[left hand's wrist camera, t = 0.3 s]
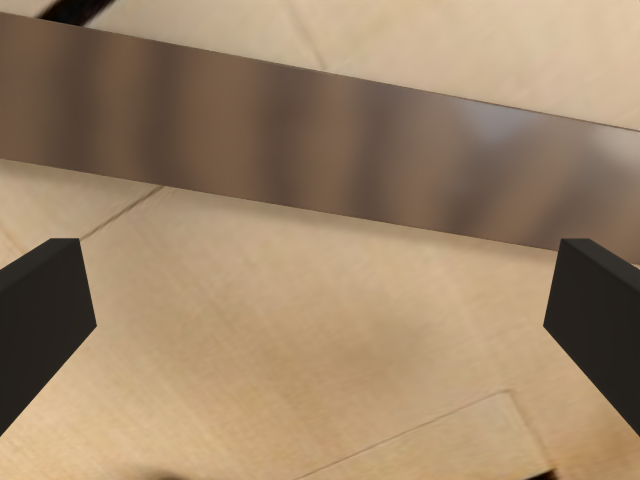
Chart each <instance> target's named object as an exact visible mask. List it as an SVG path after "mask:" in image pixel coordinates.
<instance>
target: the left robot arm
mask: <svg viewBox="0 0 640 480" xmlns="http://www.w3.org/2000/svg"><path fill="white" fill-rule="evenodd" d="M96 327H97V324H96V319H95V314H94V309H93V305H92V300H91V295H90V290H89V285H88V280H87V275H86V270H85V265H84V261H83V256H82V251H81V246H80V241H79V238H51V239H49V240H47V241H46V242H44V243H43V244H41V245H39V246H38V247H36V248H35V249H33V250H31V251H30V252H28V253H27V254H25V255H23V256H22V257H20V258H18V259H17V260H15V261H14V262H12V263H10V264H9V265H7V266H6V267H4V268H2V269H1V270H0V437H1V435H2V434H3V433H4V432H5V431H6V430H7V428H8V427H9V426H10V425H11V424H12V423H13V422H14V420H15V419H16V418H17V417H18V416H19V415H20V414H21V412H22V411H23V410H24V409H25V408H26V407H27V406H28V404H29V403H30V402H31V401H32V400H33V399H34V398H35V396H36V395H37V394H38V393H39V392H40V391H41V390H42V388H43V387H44V386H45V385H46V384H47V383H48V382H49V380H50V379H51V378H52V377H53V376H54V375H55V374H56V372H57V371H58V370H59V369H60V368H61V367H62V366H63V364H64V363H65V362H66V361H67V360H68V359H69V357H70V356H71V355H72V354H73V353H74V352H75V351H76V349H77V348H78V347H79V346H80V345H81V344H82V343H83V341H84V340H85V339H86V338H87V337H88V336H89V335H90V333H91V332H92V331H93V330H94V329H95V328H96ZM543 327H544V328H545V329H546V330H547V331H548V332H549V333H550V335H551V336H552V337H553V338H554V339H555V340H556V341H557V343H558V344H559V345H560V346H561V347H562V348H563V349H564V351H565V352H566V353H567V354H568V355H569V356H570V357H571V359H572V360H573V361H574V362H575V363H576V364H577V366H578V367H579V368H580V369H581V370H582V371H583V372H584V374H585V375H586V376H587V377H588V378H589V379H590V380H591V382H592V383H593V384H594V385H595V386H596V387H597V388H598V390H599V391H600V392H601V393H602V394H603V395H604V396H605V398H606V399H607V400H608V401H609V402H610V403H611V404H612V406H613V407H614V408H615V409H616V410H617V411H618V412H619V414H620V415H621V416H622V417H623V418H624V419H625V420H626V422H627V423H628V424H629V425H630V426H631V427H632V428H633V430H634V431H635V432H636V433H637V434H638V435H639V437H640V270H639V269H638V268H636V267H634V266H633V265H631V264H630V263H628V262H626V261H625V260H623V259H622V258H620V257H618V256H617V255H615V254H613V253H612V252H610V251H609V250H607V249H605V248H604V247H602V246H601V245H599V244H597V243H596V242H594V241H593V240H591V239H589V238H561V241H560V246H559V251H558V256H557V261H556V265H555V270H554V275H553V280H552V285H551V290H550V295H549V300H548V305H547V309H546V314H545V319H544V324H543Z"/></svg>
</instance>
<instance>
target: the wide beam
mask: <svg viewBox="0 0 640 480" xmlns="http://www.w3.org/2000/svg"><path fill="white" fill-rule="evenodd" d="M0 158H2V159H8V160H14V161H20V162H26V163H32V164H38V165H44V166H50V167H56V168H62V169H68V170H74V171H80V172H86V173H92V174H98V175H104V176H110V177H116V178H122V179H128V180H134V181H140V182H146V183H152V184H158V185H164V186H170V187H176V188H182V189H188V190H194V191H200V192H206V193H212V194H218V195H224V196H230V197H236V198H242V199H248V200H254V201H260V202H266V203H272V204H278V205H284V206H290V207H296V208H302V209H308V210H314V211H320V212H326V213H332V214H338V215H344V216H350V217H356V218H362V219H368V220H374V221H380V222H386V223H392V224H398V225H404V226H410V227H416V228H422V229H428V230H434V231H440V232H446V233H452V234H458V235H464V236H470V237H476V238H482V239H488V240H494V241H500V242H506V243H512V244H518V245H524V246H530V247H536V248H542V249H548V250H554V251H559V246H560V241H561V238H589V239H591V240H593V241H594V242H596V243H597V244H599V245H601V246H602V247H604V248H605V249H607V250H609V251H610V252H612V253H613V254H615V255H617V256H618V257H620V258H622V259H623V260H625V261H626V262H628V263H632V264H638V265H640V131H638V130H633V129H628V128H622V127H617V126H611V125H606V124H601V123H595V122H590V121H585V120H579V119H574V118H569V117H563V116H558V115H552V114H547V113H542V112H536V111H531V110H526V109H520V108H515V107H509V106H504V105H499V104H493V103H488V102H483V101H477V100H472V99H466V98H461V97H456V96H450V95H445V94H440V93H434V92H429V91H423V90H418V89H413V88H407V87H402V86H397V85H391V84H386V83H380V82H375V81H370V80H364V79H359V78H354V77H348V76H343V75H338V74H332V73H327V72H321V71H316V70H311V69H305V68H300V67H295V66H289V65H284V64H278V63H273V62H268V61H262V60H257V59H252V58H246V57H241V56H235V55H230V54H225V53H219V52H214V51H209V50H203V49H198V48H192V47H187V46H182V45H176V44H171V43H166V42H160V41H155V40H149V39H144V38H139V37H133V36H128V35H123V34H117V33H112V32H106V31H101V30H96V29H90V28H85V27H80V26H74V25H69V24H64V23H58V22H53V21H47V20H42V19H37V18H31V17H26V16H21V15H15V14H10V13H4V12H0Z"/></svg>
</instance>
